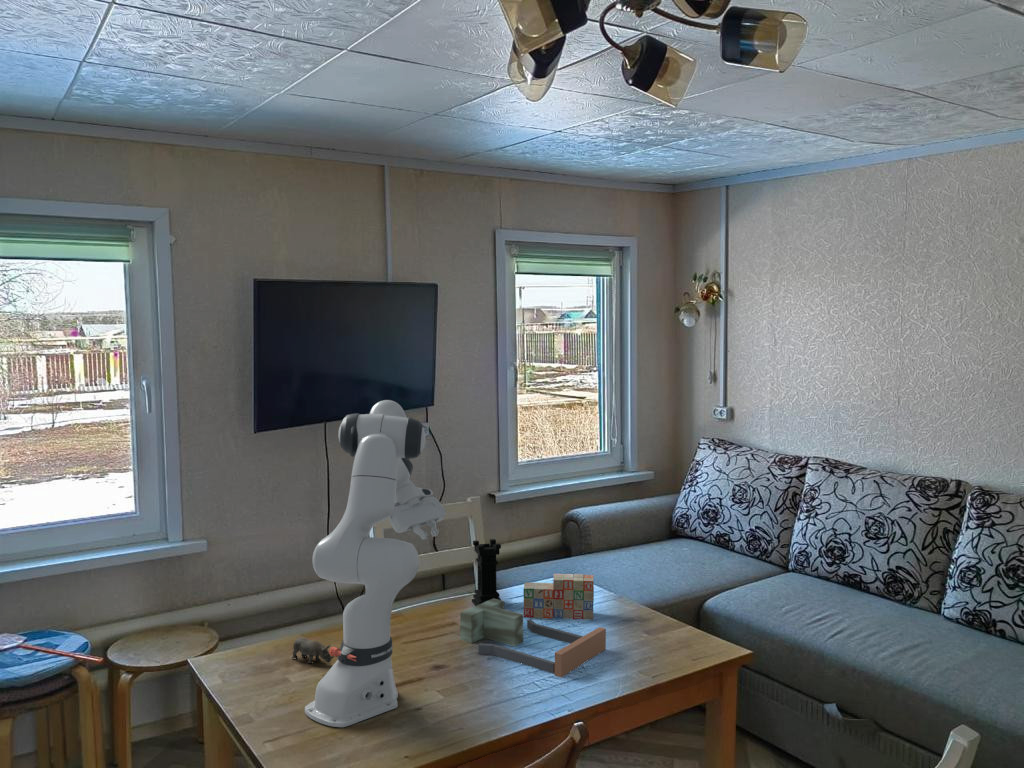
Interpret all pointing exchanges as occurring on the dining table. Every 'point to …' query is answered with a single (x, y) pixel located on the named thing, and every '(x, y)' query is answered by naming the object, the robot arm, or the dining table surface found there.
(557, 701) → the dining table surface
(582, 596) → the stack of blocks
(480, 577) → the chess piece
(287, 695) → the dining table surface
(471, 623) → the T block
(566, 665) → the bay
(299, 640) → the rhino figurine
